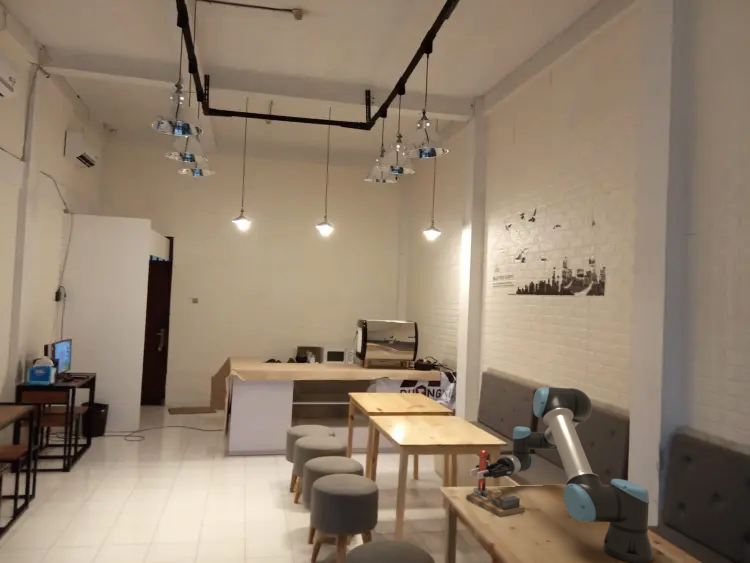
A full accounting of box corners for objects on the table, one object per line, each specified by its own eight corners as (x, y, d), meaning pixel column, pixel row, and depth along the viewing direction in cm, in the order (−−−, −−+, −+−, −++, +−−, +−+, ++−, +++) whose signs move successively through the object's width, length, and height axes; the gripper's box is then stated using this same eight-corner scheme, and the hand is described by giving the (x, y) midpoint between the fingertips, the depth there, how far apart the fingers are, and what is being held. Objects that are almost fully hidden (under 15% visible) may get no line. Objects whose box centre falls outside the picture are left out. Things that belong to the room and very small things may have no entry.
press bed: (524, 512, 216) (525, 497, 216) (500, 517, 209) (501, 502, 209) (489, 495, 233) (490, 482, 233) (466, 499, 226) (466, 486, 226)
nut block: (501, 501, 221) (501, 491, 221) (493, 502, 219) (494, 492, 219) (494, 497, 224) (494, 488, 224) (486, 499, 222) (487, 489, 222)
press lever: (494, 497, 225) (496, 452, 225) (485, 498, 222) (487, 453, 223) (482, 491, 231) (484, 447, 232) (473, 493, 228) (475, 449, 229)
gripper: (523, 479, 234) (489, 489, 218) (492, 469, 246) (458, 478, 230) (523, 461, 234) (490, 470, 219) (493, 452, 246) (459, 460, 231)
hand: (474, 474), depth 225 cm, fingers closed on press lever, 3 cm apart
